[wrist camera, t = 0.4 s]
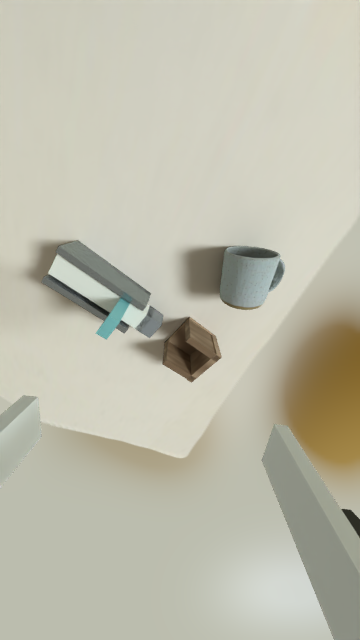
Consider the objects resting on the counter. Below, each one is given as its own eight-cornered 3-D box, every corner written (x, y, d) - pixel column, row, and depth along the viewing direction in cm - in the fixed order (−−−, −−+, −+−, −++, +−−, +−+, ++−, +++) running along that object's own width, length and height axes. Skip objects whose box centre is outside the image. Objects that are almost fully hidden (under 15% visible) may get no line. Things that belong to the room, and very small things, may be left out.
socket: (189, 316, 37) (191, 336, 31) (215, 336, 39) (221, 357, 34) (164, 342, 40) (161, 364, 35) (189, 359, 42) (191, 382, 37)
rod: (69, 249, 30) (27, 264, 22) (163, 314, 35) (157, 346, 27) (60, 266, 31) (17, 287, 23) (152, 327, 37) (143, 361, 29)
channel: (77, 240, 30) (58, 246, 26) (150, 293, 35) (146, 306, 30) (61, 271, 33) (41, 282, 28) (131, 317, 37) (124, 333, 32)
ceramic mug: (214, 293, 35) (224, 313, 28) (220, 245, 31) (232, 255, 24) (273, 294, 35) (296, 314, 28) (286, 246, 31) (316, 256, 24)
